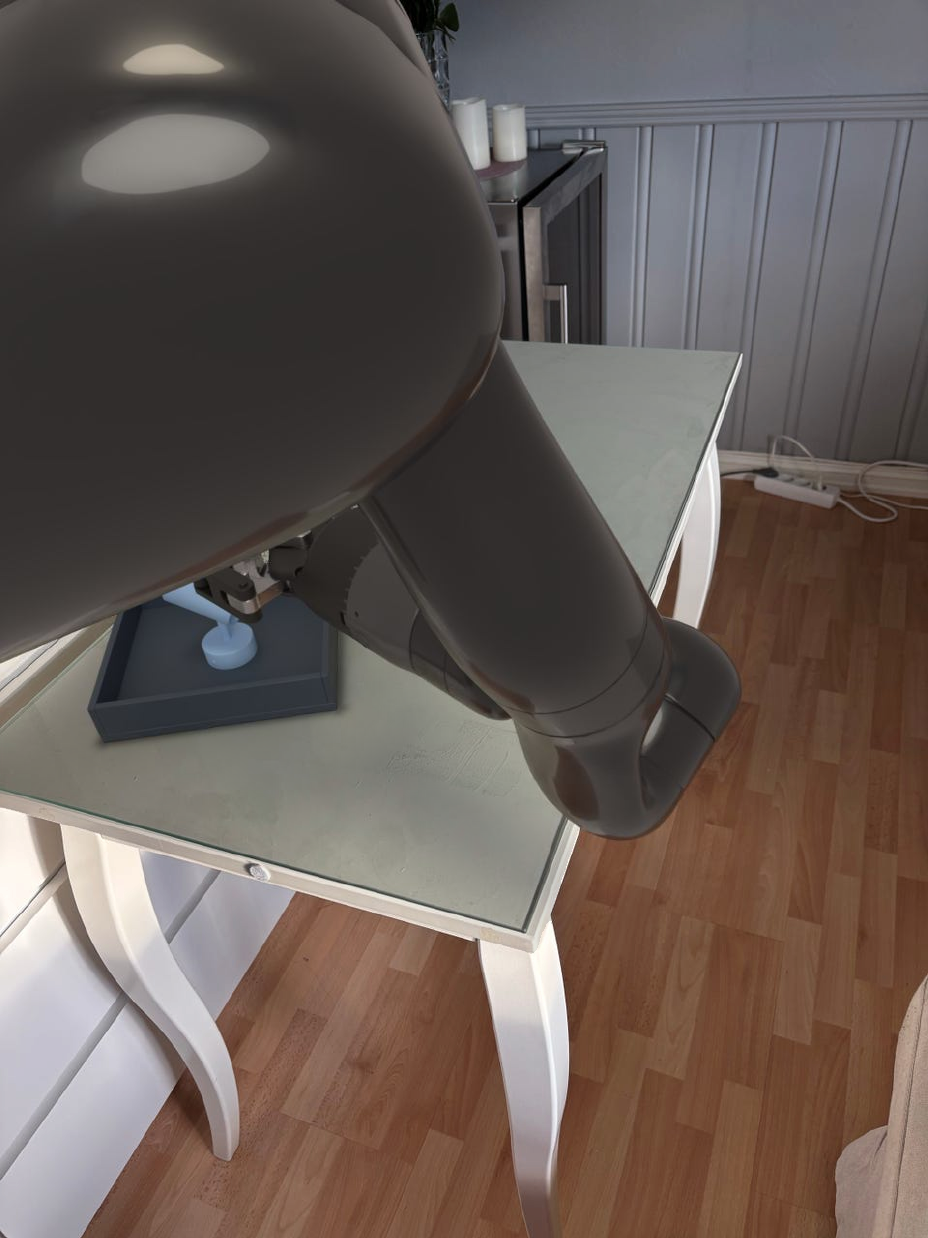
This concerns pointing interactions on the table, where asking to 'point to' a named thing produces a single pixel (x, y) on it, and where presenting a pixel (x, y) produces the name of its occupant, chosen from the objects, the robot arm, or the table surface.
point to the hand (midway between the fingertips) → (242, 501)
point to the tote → (210, 671)
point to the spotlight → (218, 630)
